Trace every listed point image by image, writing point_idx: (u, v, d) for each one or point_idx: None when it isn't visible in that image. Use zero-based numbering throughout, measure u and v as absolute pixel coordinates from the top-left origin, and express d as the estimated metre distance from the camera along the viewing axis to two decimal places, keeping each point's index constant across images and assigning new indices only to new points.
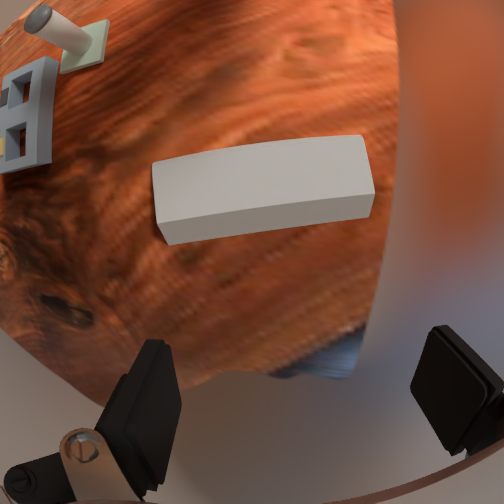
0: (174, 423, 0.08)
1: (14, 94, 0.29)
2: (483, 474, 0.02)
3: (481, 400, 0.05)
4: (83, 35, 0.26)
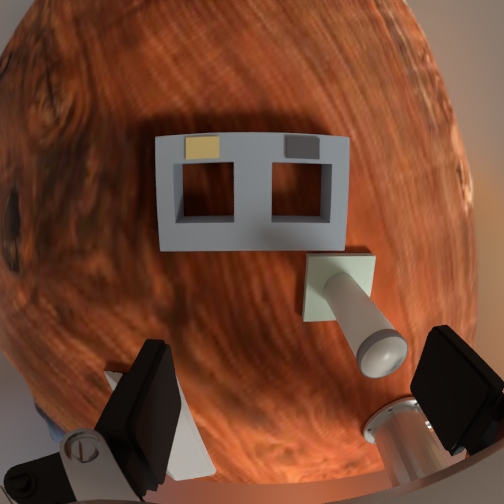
0: (174, 423, 0.08)
1: None
2: (483, 474, 0.02)
3: (481, 400, 0.05)
4: None
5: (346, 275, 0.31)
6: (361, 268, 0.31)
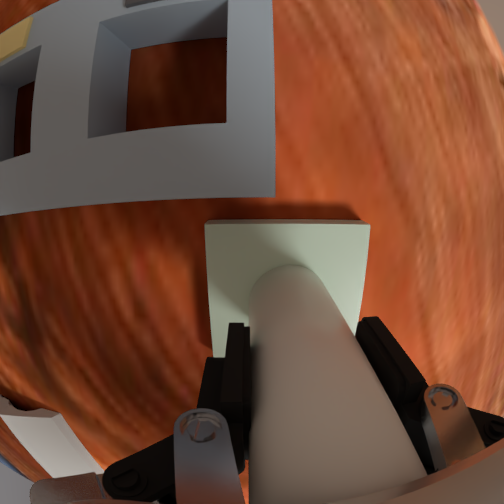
0: None
1: (172, 19, 0.09)
2: (483, 474, 0.02)
3: (397, 395, 0.06)
4: None
5: (299, 269, 0.13)
6: (337, 253, 0.14)
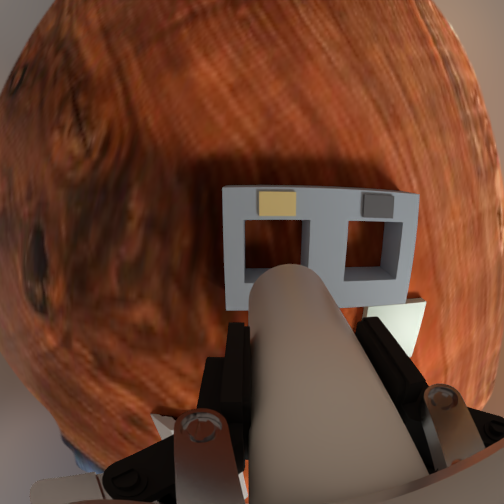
0: None
1: None
2: (483, 474, 0.02)
3: (397, 395, 0.06)
4: None
5: (299, 268, 0.13)
6: (413, 313, 0.30)
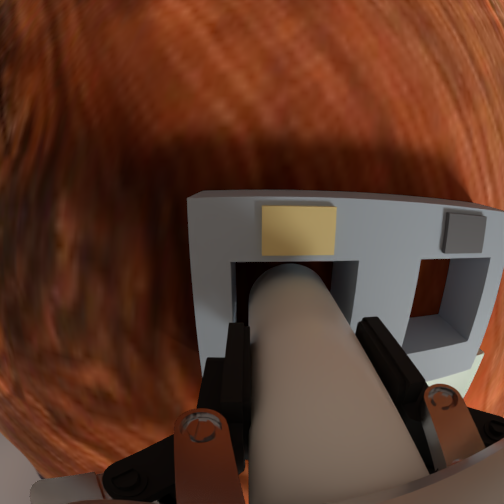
0: None
1: None
2: (483, 474, 0.02)
3: (397, 395, 0.06)
4: None
5: (299, 267, 0.13)
6: (467, 370, 0.18)
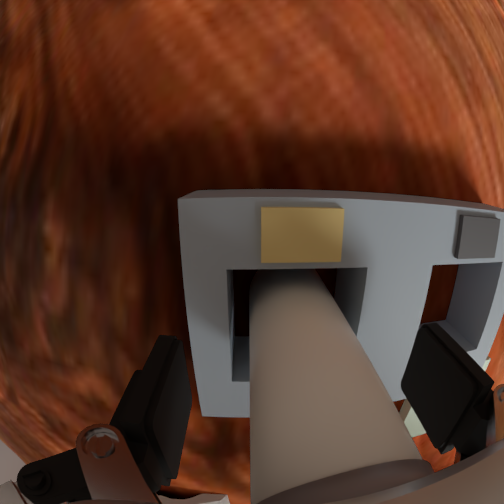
0: (186, 418, 0.08)
1: None
2: (483, 474, 0.02)
3: (469, 398, 0.05)
4: None
5: None
6: None
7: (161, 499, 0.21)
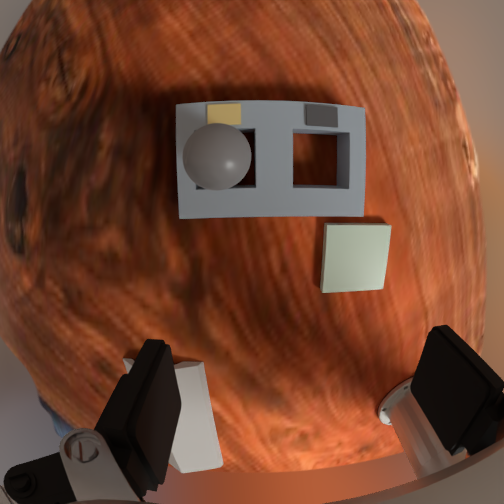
0: (174, 423, 0.08)
1: (320, 131, 0.26)
2: (483, 474, 0.02)
3: (481, 400, 0.05)
4: None
5: None
6: (377, 237, 0.31)
7: None
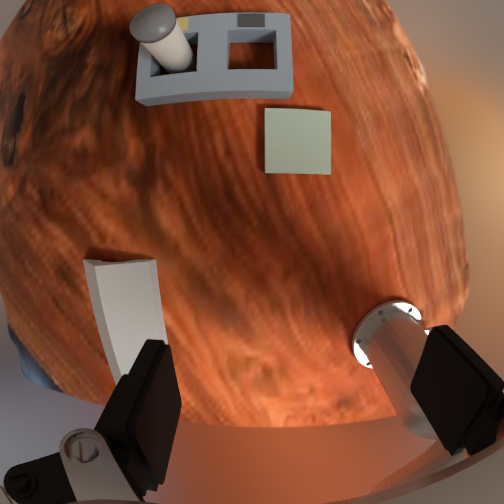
0: (174, 423, 0.08)
1: (253, 34, 0.27)
2: (483, 474, 0.02)
3: (481, 400, 0.05)
4: (175, 70, 0.28)
5: None
6: (317, 121, 0.32)
7: (104, 262, 0.36)
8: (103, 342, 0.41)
